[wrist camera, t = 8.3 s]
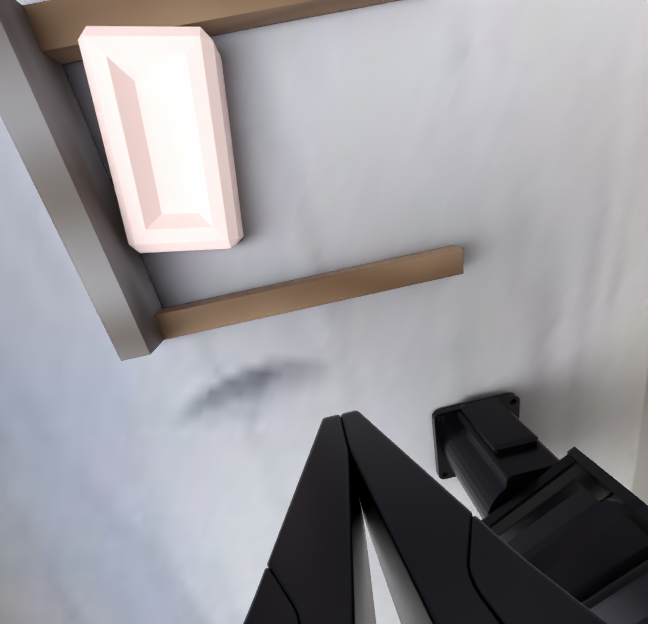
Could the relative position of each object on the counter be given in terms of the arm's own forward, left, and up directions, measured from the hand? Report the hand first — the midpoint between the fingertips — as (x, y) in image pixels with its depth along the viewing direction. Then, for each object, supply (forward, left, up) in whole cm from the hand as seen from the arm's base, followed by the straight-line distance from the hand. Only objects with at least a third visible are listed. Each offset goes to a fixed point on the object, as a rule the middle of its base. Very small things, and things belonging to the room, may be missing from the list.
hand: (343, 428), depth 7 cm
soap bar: (+8, +5, -13) cm, 16 cm away
